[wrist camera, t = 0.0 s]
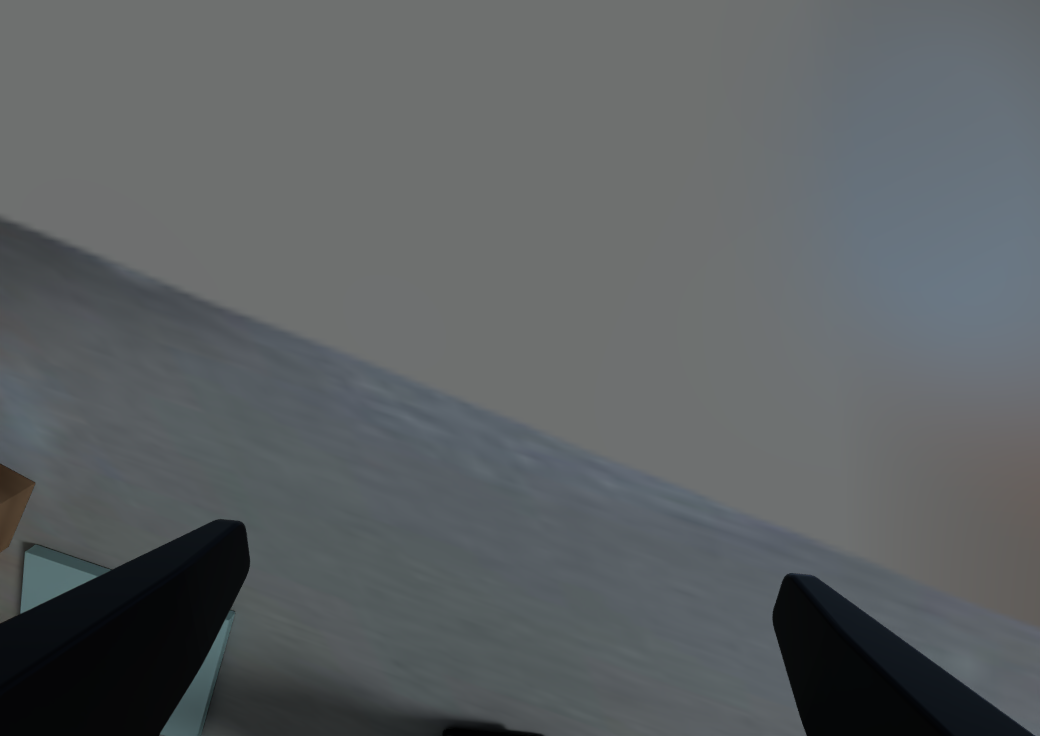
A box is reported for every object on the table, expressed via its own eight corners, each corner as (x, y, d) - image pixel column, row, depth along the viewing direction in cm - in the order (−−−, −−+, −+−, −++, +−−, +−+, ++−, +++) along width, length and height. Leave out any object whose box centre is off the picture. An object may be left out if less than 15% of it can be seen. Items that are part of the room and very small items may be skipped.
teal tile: (235, 611, 29) (229, 620, 28) (201, 735, 33) (195, 745, 32) (35, 544, 28) (25, 552, 27) (23, 679, 32) (14, 688, 31)
